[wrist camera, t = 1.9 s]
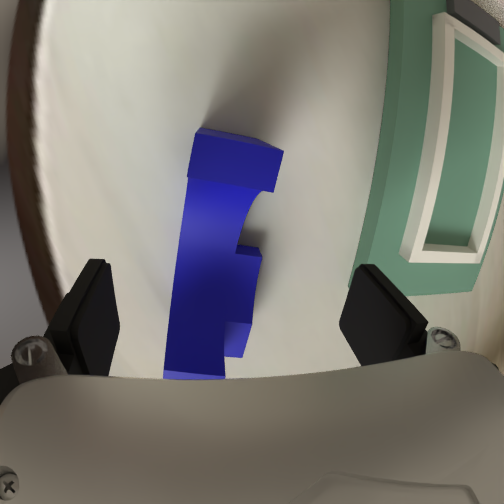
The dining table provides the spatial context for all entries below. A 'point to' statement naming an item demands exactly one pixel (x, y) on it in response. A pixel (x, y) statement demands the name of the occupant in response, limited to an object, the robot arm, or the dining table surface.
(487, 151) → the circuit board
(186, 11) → the dining table surface
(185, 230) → the cable clip
